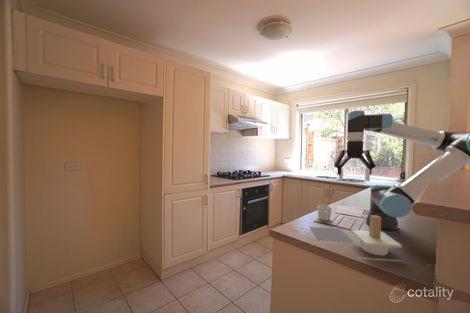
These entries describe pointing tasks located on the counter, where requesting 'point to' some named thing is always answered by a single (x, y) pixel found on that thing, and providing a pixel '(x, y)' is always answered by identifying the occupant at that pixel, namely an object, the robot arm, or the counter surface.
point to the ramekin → (374, 249)
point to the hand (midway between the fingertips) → (354, 180)
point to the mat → (330, 234)
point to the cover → (375, 235)
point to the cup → (324, 212)
